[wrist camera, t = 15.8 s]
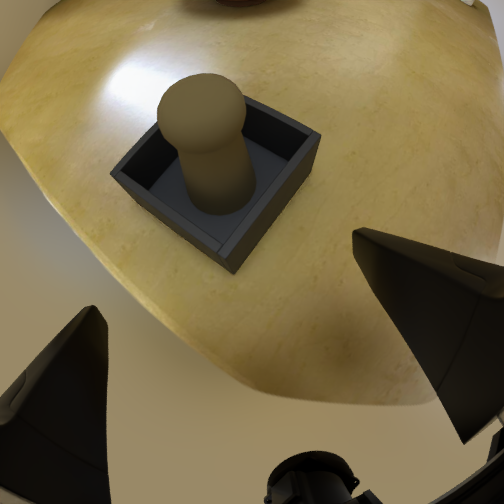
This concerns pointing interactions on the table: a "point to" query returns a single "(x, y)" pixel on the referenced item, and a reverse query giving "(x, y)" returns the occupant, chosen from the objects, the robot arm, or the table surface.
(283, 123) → the dark grey square box
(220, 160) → the cork
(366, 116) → the table surface
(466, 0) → the cup
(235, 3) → the bowl
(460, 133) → the table surface
